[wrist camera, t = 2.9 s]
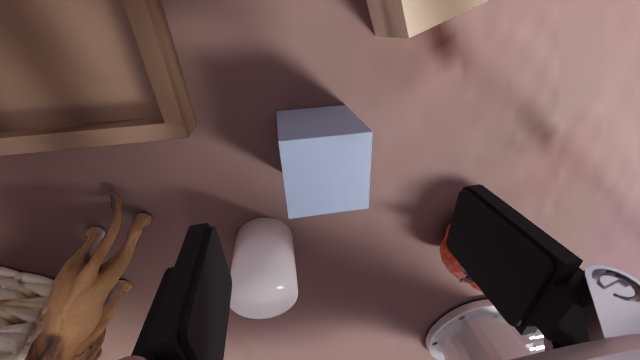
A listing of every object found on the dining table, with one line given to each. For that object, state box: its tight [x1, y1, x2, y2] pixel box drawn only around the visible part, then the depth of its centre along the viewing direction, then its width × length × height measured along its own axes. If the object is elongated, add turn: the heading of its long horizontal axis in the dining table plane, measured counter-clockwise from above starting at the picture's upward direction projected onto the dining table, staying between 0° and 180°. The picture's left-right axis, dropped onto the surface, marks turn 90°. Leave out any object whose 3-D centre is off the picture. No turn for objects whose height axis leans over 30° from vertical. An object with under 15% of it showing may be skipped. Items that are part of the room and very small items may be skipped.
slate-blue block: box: [276, 105, 372, 219], centre depth 18 cm, size 5×5×6 cm
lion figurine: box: [25, 190, 152, 360], centre depth 19 cm, size 15×5×9 cm, turn 160°
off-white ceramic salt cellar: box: [230, 218, 298, 319], centre depth 22 cm, size 5×5×6 cm
